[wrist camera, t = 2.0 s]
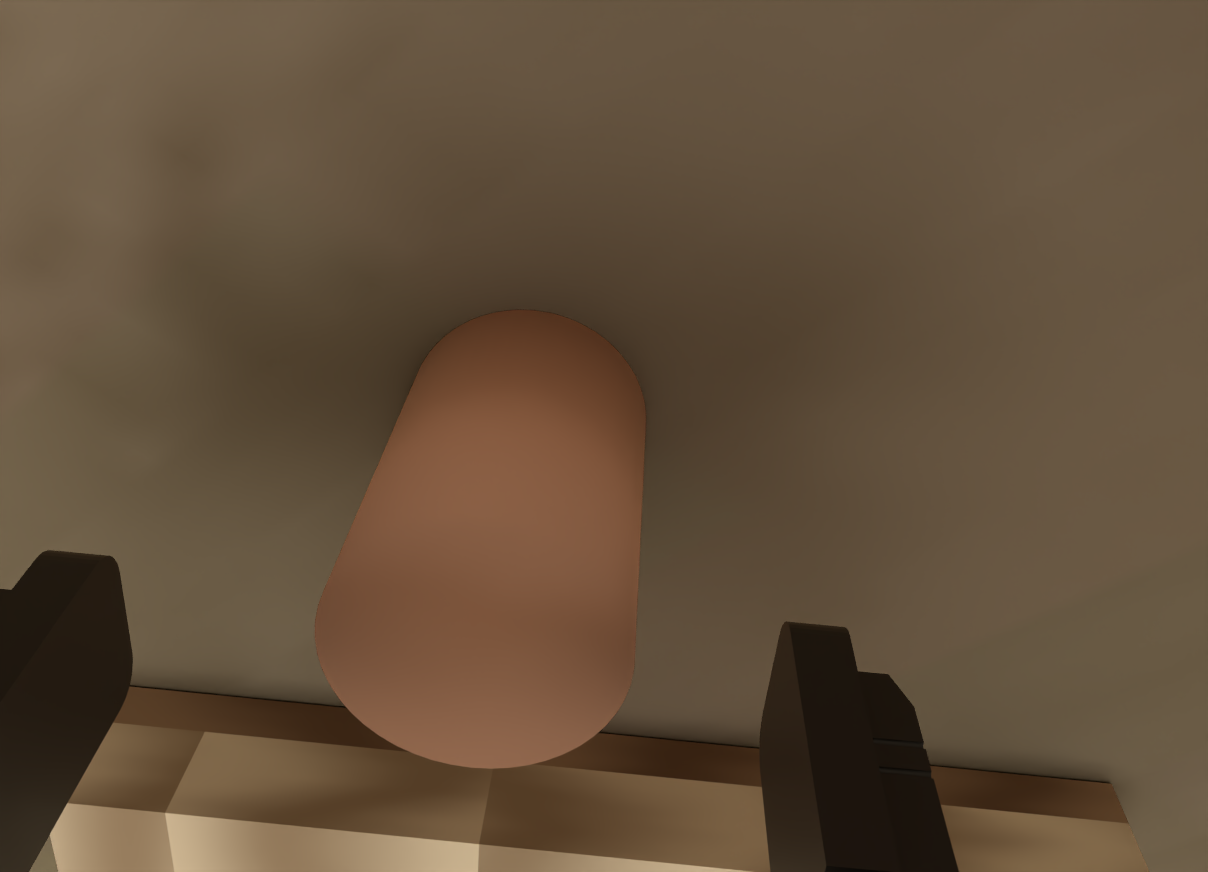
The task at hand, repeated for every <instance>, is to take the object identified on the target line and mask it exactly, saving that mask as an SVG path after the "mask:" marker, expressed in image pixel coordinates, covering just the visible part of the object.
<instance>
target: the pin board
mask: <svg viewBox="0 0 1208 872" xmlns="http://www.w3.org/2000/svg"><path fill="white" fill-rule="evenodd" d="M930 767H931V771H932V772H931V778H933V779H934V782H935V785H936V789H937V793H938V796H939V800H940V804H941V808H942V811H943V815H944V819H945V822H946V826H947V830H948V833H949V837H950V841H951V844H952V848H953V852H954V855H955V859H956V863H957V866H958V870H959V872H1149V870H1148V868H1147V865H1146V863H1145V861H1144V858H1143V856H1142V854H1141V851H1140V849H1139V847H1138V844H1137V842H1136V840H1135V837H1134V835H1133V833H1132V830H1131V828H1130V826H1129V823H1128V821H1127V819H1126V816H1125V814H1124V812H1123V809H1122V807H1121V805H1120V802H1119V800H1118V798H1117V795H1116V793H1115V791H1114V788H1113V786H1112V784H1108V783H1098V782H1088V781H1078V780H1068V779H1058V778H1048V777H1038V776H1028V775H1018V774H1007V773H997V772H987V771H977V770H967V769H957V768H947V767H937V766H930ZM50 837H51V842H52V846H53V850H54V855H55V859H56V863H57V868H58V872H770V862H769V853H768V843H767V833H766V823H765V814H764V804H763V794H762V784H761V775H760V761H759V749H755V748H745V747H735V746H725V745H715V744H705V743H695V742H685V741H674V740H664V739H654V738H644V737H634V736H624V735H614V734H604V733H597V734H596V735H595V736H594V737H592V738H591V739H589V740H588V741H586V742H585V743H583V744H582V745H581V746H579V747H577V748H575V749H573V750H571V751H569V752H567V753H565V754H563V755H560V756H558V757H555V758H552V759H550V760H547V761H543V762H539V763H535V764H531V765H526V766H519V767H512V768H494V769H487V768H470V767H463V766H456V765H450V764H446V763H442V762H438V761H434V760H430V759H428V758H425V757H422V756H419V755H416V754H413V753H411V752H409V751H407V750H405V749H402V748H400V747H398V746H396V745H394V744H392V743H391V742H389V741H387V740H386V739H384V738H382V737H380V736H379V735H378V734H376V733H375V732H373V731H372V730H371V729H369V728H368V727H367V726H365V725H364V724H363V723H362V722H361V721H360V720H359V719H357V718H356V717H355V716H354V715H353V714H352V713H351V712H350V711H349V710H348V709H347V708H342V707H331V706H321V705H311V704H301V703H291V702H281V701H271V700H261V699H251V698H241V697H231V696H220V695H210V694H200V693H190V692H180V691H170V690H160V689H150V688H140V687H130V686H129V689H128V693H127V696H126V699H125V701H124V704H123V706H122V708H121V710H120V711H119V713H118V715H117V717H116V718H115V720H114V722H113V724H112V725H111V727H110V729H109V731H108V732H107V734H106V736H105V738H104V740H103V741H102V743H101V745H100V747H99V748H98V750H97V752H96V754H95V755H94V757H93V759H92V761H91V763H90V764H89V766H88V768H87V770H86V771H85V773H84V775H83V777H82V778H81V780H80V782H79V784H78V786H77V787H76V789H75V791H74V793H73V794H72V796H71V798H70V800H69V801H68V803H67V805H66V807H65V808H64V810H63V812H62V814H61V816H60V817H59V819H58V821H57V823H56V824H55V826H54V828H53V830H52V831H51V833H50Z"/></svg>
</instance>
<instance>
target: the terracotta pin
mask: <svg viewBox="0 0 1208 872" xmlns="http://www.w3.org/2000/svg"><path fill="white" fill-rule="evenodd" d="M645 435H646V409H645V402H644V398H643V394H642V390H641V388H640V385H639V383H638V381H637V378H636V376H635V374H634V373H633V371H632V369H631V368H630V366H629V364H628V363H627V361H626V360H625V359H624V358H623V356H622V355H621V354H620V353H619V351H617V350H616V349H615V348H614V347H613V346H612V345H611V344H610V343H609V342H608V341H607V340H606V339H604V338H603V337H602V336H600V335H599V334H598V333H596V332H595V331H593V330H591V329H590V328H588V327H586V326H584V325H583V324H581V323H578V322H576V321H574V320H571V319H569V318H566V317H563V316H560V315H556V314H553V313H548V312H542V311H535V310H509V311H500V312H495V313H491V314H486V315H483V316H481V317H478V318H475V319H472V320H470V321H468V322H466V323H464V324H462V325H460V326H458V327H457V328H455V329H454V330H452V331H451V332H450V333H448V334H447V335H446V336H444V337H443V338H442V339H441V340H440V341H439V342H438V343H437V344H436V345H435V346H434V347H433V349H432V350H431V351H430V352H429V354H428V355H427V356H426V358H425V360H424V361H423V363H422V365H421V367H420V368H419V371H418V373H417V375H416V378H415V380H414V382H413V385H412V387H411V389H410V392H409V394H408V396H407V399H406V401H405V403H404V406H403V408H402V410H401V413H400V415H399V417H398V419H397V422H396V424H395V426H394V429H393V431H392V433H391V436H390V438H389V440H388V443H387V445H386V447H385V450H384V452H383V454H382V457H381V459H380V461H379V464H378V466H377V468H376V470H375V473H374V475H373V477H372V480H371V482H370V484H369V487H368V489H367V491H366V494H365V496H364V498H363V501H362V503H361V505H360V508H359V510H358V512H357V515H356V517H355V519H354V521H353V524H352V526H351V528H350V531H349V533H348V535H347V538H346V540H345V542H344V545H343V547H342V549H341V552H340V554H339V556H338V559H337V561H336V563H335V566H334V568H333V570H332V572H331V575H330V577H329V579H328V582H327V584H326V586H325V589H324V591H323V594H322V596H321V599H320V602H319V604H318V609H317V614H316V619H315V642H316V649H317V654H318V657H319V661H320V664H321V667H322V670H323V672H324V674H325V676H326V678H327V680H328V682H329V684H330V686H331V687H332V689H333V690H334V692H335V693H336V695H337V696H338V698H339V699H340V700H341V702H342V703H343V704H344V705H345V706H346V707H347V709H348V710H349V711H350V712H351V713H352V714H353V715H354V716H355V717H356V718H357V719H359V720H360V721H361V722H362V723H363V724H364V725H365V726H367V727H368V728H369V729H371V730H372V731H373V732H375V733H376V734H378V735H379V736H380V737H382V738H384V739H386V740H387V741H389V742H391V743H392V744H394V745H396V746H398V747H400V748H402V749H405V750H407V751H409V752H411V753H413V754H416V755H419V756H422V757H425V758H428V759H430V760H434V761H438V762H442V763H446V764H450V765H456V766H463V767H470V768H487V769H494V768H512V767H519V766H526V765H531V764H535V763H539V762H543V761H547V760H550V759H552V758H555V757H558V756H560V755H563V754H565V753H567V752H569V751H571V750H573V749H575V748H577V747H579V746H581V745H582V744H583V743H585V742H586V741H588V740H589V739H591V738H592V737H594V736H595V735H596V734H597V733H598V732H599V731H600V730H602V729H603V728H604V727H605V726H606V725H607V724H608V723H609V721H610V720H611V719H612V718H613V717H614V715H615V714H616V713H617V712H618V710H619V708H620V707H621V705H622V703H623V702H624V700H625V698H626V695H627V693H628V690H629V688H630V685H631V682H632V677H633V672H634V665H635V644H636V623H637V602H638V581H639V560H640V540H641V519H642V498H643V477H644V456H645Z"/></svg>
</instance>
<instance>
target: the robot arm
mask: <svg viewBox="0 0 1208 872" xmlns="http://www.w3.org/2000/svg"><path fill="white" fill-rule="evenodd" d="M132 664H133V657H132V648H131V642H130V635H129V629H128V622H127V616H126V609H125V603H124V597H123V590H122V584H121V577H120V572H119V567H118V564H117V562H116V561H115V559H114V558H113V557H111V556H105V555H94V554H84V553H73V552H62V551H52V550H48V551H45V552H43V553H41V554H40V555H39V556H38V557H37V558H36V559H35V561H34V562H33V563H32V565H31V566H30V567H29V568H28V570H27V571H26V572H25V574H24V575H23V576H22V577H21V579H20V580H19V581H18V583H17V584H16V585H15V586H14V588H13V589H12V590H6V589H0V872H29V870H30V869H31V867H32V865H33V863H34V862H35V860H36V858H37V856H38V854H39V853H40V851H41V849H42V847H43V846H44V844H45V842H46V840H47V839H48V837H49V835H50V833H51V831H52V830H53V828H54V826H55V824H56V823H57V821H58V819H59V817H60V816H61V814H62V812H63V810H64V808H65V807H66V805H67V803H68V801H69V800H70V798H71V796H72V794H73V793H74V791H75V789H76V787H77V786H78V784H79V782H80V780H81V778H82V777H83V775H84V773H85V771H86V770H87V768H88V766H89V764H90V763H91V761H92V759H93V757H94V755H95V754H96V752H97V750H98V748H99V747H100V745H101V743H102V741H103V740H104V738H105V736H106V734H107V732H108V731H109V729H110V727H111V725H112V724H113V722H114V720H115V718H116V717H117V715H118V713H119V711H120V710H121V708H122V706H123V704H124V701H125V699H126V696H127V693H128V689H129V686H130V681H131V675H132ZM923 743H924V741H923V738H922V734H921V730H920V727H919V723H918V719H917V716H916V712H915V708H914V706H913V705H912V704H911V702H910V701H909V700H908V699H907V697H906V696H905V695H904V694H903V692H902V691H901V690H900V689H899V687H898V686H897V685H896V684H895V682H894V681H893V680H892V678H891V677H890V676H889V675H888V674H879V673H868V672H858V670H857V666H856V661H855V657H854V652H853V648H852V643H851V639H850V635H849V632H848V630H847V628H845V627H837V626H827V625H816V624H806V623H795V622H784V624H783V626H782V628H781V631H780V635H779V640H778V645H777V649H776V654H775V659H774V663H773V668H772V673H771V678H770V682H769V687H768V692H767V696H766V701H765V706H764V710H763V716H762V722H761V731H760V747H759V761H760V775H761V784H762V794H763V804H764V814H765V823H766V833H767V843H768V853H769V862H770V872H959V870H958V866H957V863H956V859H955V855H954V852H953V848H952V844H951V841H950V837H949V833H948V830H947V826H946V822H945V819H944V815H943V811H942V808H941V804H940V800H939V796H938V793H937V789H936V785H935V782H934V779H933V778H931V772H932V771H931V767H930V763H929V760H928V756H927V752H926V749H923Z"/></svg>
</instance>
